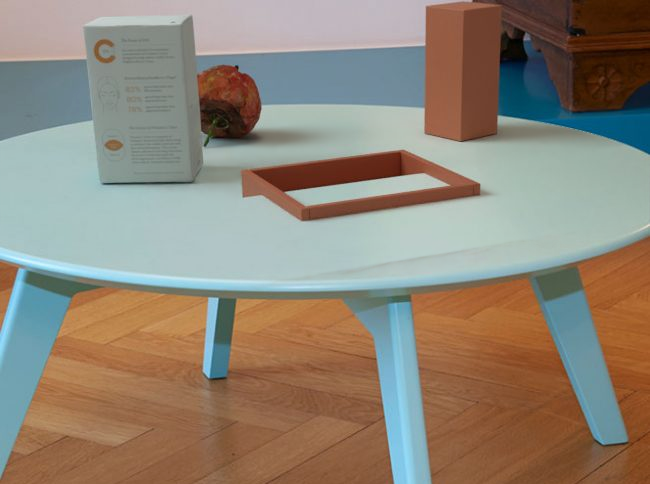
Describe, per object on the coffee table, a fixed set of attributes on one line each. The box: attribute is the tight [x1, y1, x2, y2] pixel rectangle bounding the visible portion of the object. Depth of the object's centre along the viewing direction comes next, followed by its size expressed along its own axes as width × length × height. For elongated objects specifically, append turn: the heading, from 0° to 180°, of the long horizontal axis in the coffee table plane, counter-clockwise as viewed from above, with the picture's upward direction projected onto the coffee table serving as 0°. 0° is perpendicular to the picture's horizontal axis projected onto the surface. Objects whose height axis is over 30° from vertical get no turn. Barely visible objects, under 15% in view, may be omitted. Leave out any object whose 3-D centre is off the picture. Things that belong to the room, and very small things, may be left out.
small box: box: [82, 14, 204, 184], centre depth 95 cm, size 8×6×13 cm
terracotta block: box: [423, 0, 503, 142], centre depth 108 cm, size 5×5×12 cm
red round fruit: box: [197, 64, 263, 148], centre depth 108 cm, size 7×7×10 cm
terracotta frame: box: [240, 149, 481, 222], centre depth 86 cm, size 14×12×3 cm
